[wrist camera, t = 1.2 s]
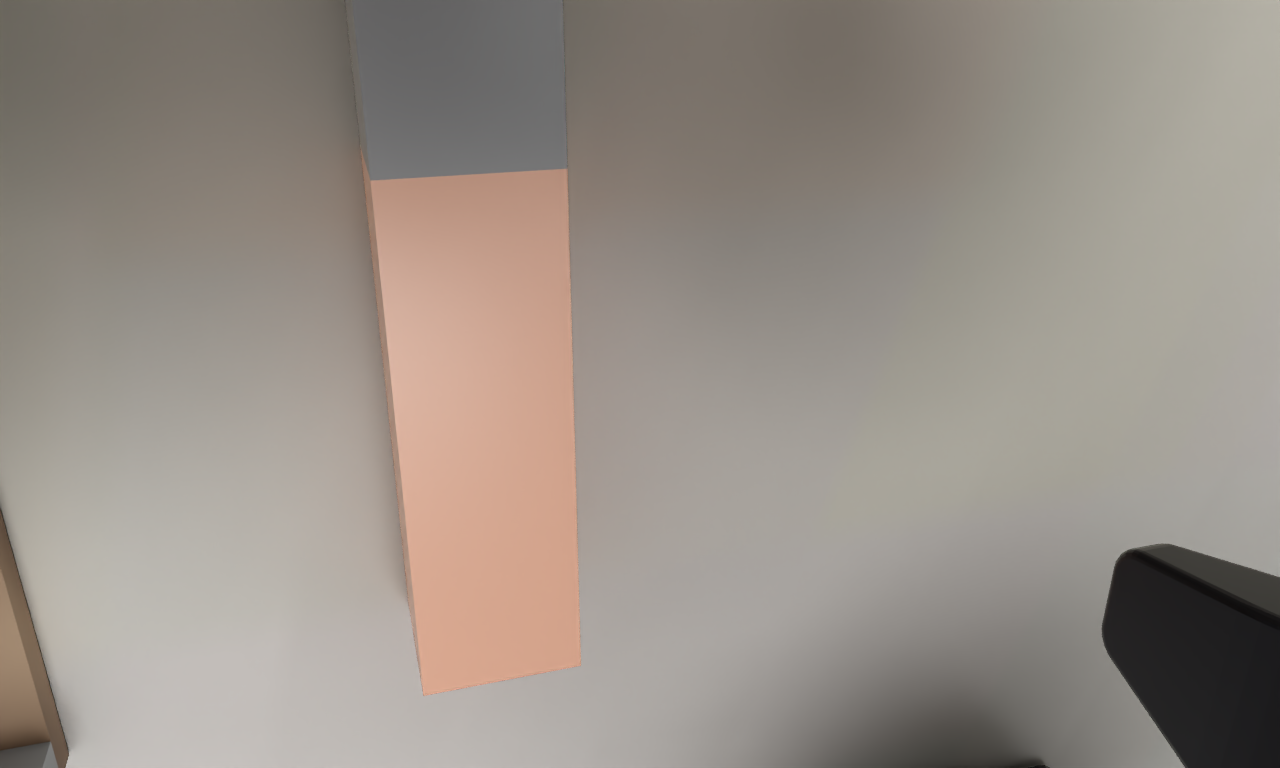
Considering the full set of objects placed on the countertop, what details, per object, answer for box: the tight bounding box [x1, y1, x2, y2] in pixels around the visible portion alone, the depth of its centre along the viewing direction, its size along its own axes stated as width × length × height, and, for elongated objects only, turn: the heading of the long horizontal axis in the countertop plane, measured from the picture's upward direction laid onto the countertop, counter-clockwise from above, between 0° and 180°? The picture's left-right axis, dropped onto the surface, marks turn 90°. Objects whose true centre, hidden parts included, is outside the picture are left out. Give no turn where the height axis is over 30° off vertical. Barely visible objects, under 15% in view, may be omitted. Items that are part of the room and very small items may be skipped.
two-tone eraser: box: [345, 0, 581, 696], centre depth 15 cm, size 11×2×2 cm, turn 0°
